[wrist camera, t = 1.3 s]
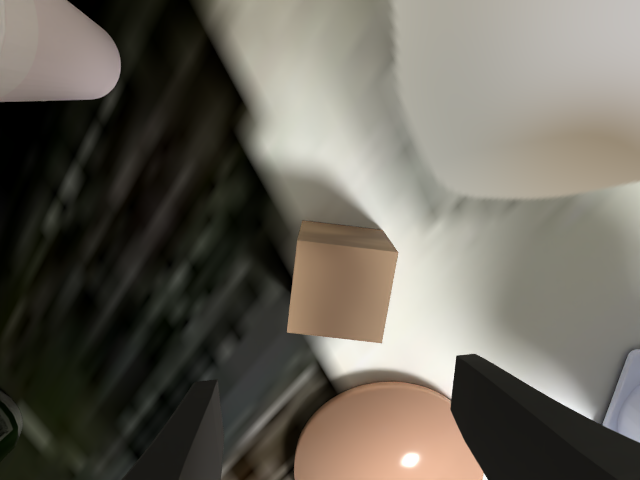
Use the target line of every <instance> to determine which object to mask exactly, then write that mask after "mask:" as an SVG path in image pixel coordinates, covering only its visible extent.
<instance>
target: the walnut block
mask: <svg viewBox="0 0 640 480" xmlns="http://www.w3.org/2000/svg"><path fill="white" fill-rule="evenodd" d="M397 257H398V251H397V250H396V248H395V247H394V246H393V244H392V243H391V241H390V240H389V238H388V237H387V236H386V234H385V233H384V231H383V230H378V229H370V228H362V227H353V226H345V225H337V224H329V223H321V222H312V221H304V220H302V224H301V227H300V231H299V235H298V239H297V247H296V256H295V265H294V274H293V283H292V292H291V301H290V310H289V319H288V328H287V332H288V333H297V334H306V335H315V336H323V337H332V338H341V339H350V340H359V341H367V342H376V343H382V339H383V333H384V328H385V322H386V317H387V311H388V306H389V300H390V295H391V289H392V284H393V278H394V273H395V267H396V262H397Z"/></svg>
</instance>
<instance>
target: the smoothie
mask: <svg viewBox="0 0 640 480" xmlns="http://www.w3.org/2000/svg"><path fill="white" fill-rule="evenodd" d="M120 70H121V61H120V55H119V52H118V49H117V47H116V45H115V43H114V41H113V39H112V38H111V37H110V35H109V34H108V33H107V32H106V31H105V30H104V29H102V28H101V27H100V26H99V25H97V24H96V23H95V22H94V21H92V20H91V19H90V18H89V17H87V16H86V15H85V14H84V13H82V12H81V11H80V10H79V9H77V8H76V7H75V6H73V5H72V4H71V3H70V2H68V1H67V0H0V102H13V101H52V100H91V99H97V98H101V97H103V96H105V95H106V94H108V93H109V92H110V91H111V90H112V89H113V88H114V87H115V85H116V83H117V81H118V79H119V76H120Z"/></svg>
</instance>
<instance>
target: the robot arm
mask: <svg viewBox="0 0 640 480" xmlns="http://www.w3.org/2000/svg"><path fill="white" fill-rule="evenodd" d="M450 410H451V413H452V415H453V417H454V419H455V422H456V424H457V426H458V428H459V430H460V432H461V434H462V437H463V439H464V441H465V443H466V444H467V446H468V448H469V449H470V451H471V453H472V454H473V456H474V458H475V459H476V461H477V462H478V464H479V466H480V467H481V469H482V471H483V472H484V474H485V475H486V477H487V479H488V480H640V349H635V350H633V351H631V352H630V353H629V354H628V357H627V359H626V362H625V365H624V367H623V370H622V373H621V376H620V378H619V381H618V384H617V386H616V389H615V392H614V395H613V397H612V400H611V403H610V405H609V408H608V411H607V413H606V416H605V419H604V422H603V424H602V425H601V424H599V423H597V422H595V421H593V420H591V419H589V418H587V417H585V416H583V415H581V414H579V413H577V412H575V411H574V410H572V409H570V408H568V407H566V406H564V405H562V404H561V403H559V402H557V401H555V400H553V399H552V398H550V397H548V396H546V395H545V394H543V393H541V392H539V391H538V390H536V389H534V388H533V387H531V386H529V385H528V384H526V383H524V382H523V381H521V380H519V379H518V378H516V377H514V376H513V375H511V374H509V373H508V372H506V371H504V370H503V369H501V368H499V367H498V366H496V365H494V364H493V363H491V362H489V361H487V360H486V359H484V358H482V357H480V356H478V355H476V354H469V355H459V356H456V364H455V373H454V381H453V390H452V399H451V407H450ZM223 446H224V431H223V422H222V414H221V405H220V397H219V388H218V380H209V381H199V382H195V383H194V384H193V385H192V386H191V388H190V389H189V391H188V392H187V394H186V395H185V397H184V399H183V400H182V402H181V403H180V404H179V406H178V407H177V409H176V410H175V412H174V413H173V415H172V416H171V418H170V419H169V420H168V422H167V423H166V424H165V426H164V427H163V428H162V430H161V431H160V433H159V434H158V435H157V437H156V438H155V439H154V441H153V442H152V443H151V445H150V446H149V447H148V448H147V450H146V451H145V452H144V453H143V455H142V456H141V457H140V458H139V459H138V461H137V462H136V463H135V464H134V466H133V467H132V468H131V469H130V470H129V472H128V473H127V474H126V475H125V476H124V478H123V479H122V480H220V479H221V472H222V460H223Z"/></svg>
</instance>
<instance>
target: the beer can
mask: <svg viewBox="0 0 640 480" xmlns="http://www.w3.org/2000/svg"><path fill="white" fill-rule="evenodd" d="M22 427H23V423H22V415H21V413H20V411H19V408H18V407H17V405H16V404H15V403H14V402H13V400H12V399H11V398H10V397H8V396H7V395H6V394H4V393H3V392H1V391H0V461H1V460H2V459H3V458H4V457H5V456H6V455H7V454H8V453H9V452H10V451H11V450H12V449H13V448H14V447H15V445H16V443H17V440H18V438H19V435H20V433H21V430H22Z"/></svg>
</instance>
